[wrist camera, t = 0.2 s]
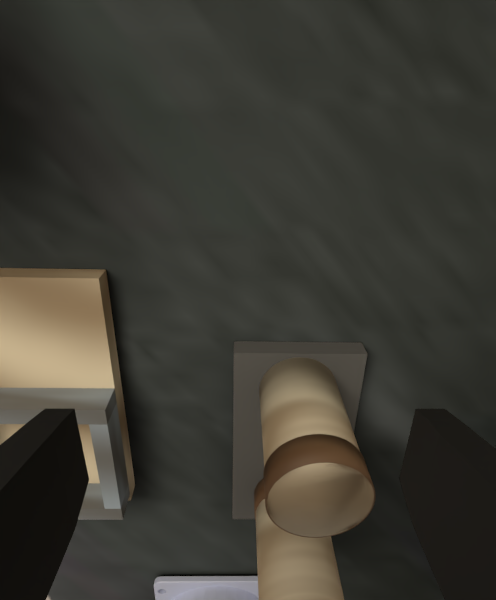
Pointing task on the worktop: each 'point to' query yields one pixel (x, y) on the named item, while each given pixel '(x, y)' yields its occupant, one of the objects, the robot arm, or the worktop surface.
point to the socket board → (67, 372)
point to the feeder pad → (246, 402)
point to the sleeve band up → (310, 453)
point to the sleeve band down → (292, 561)
